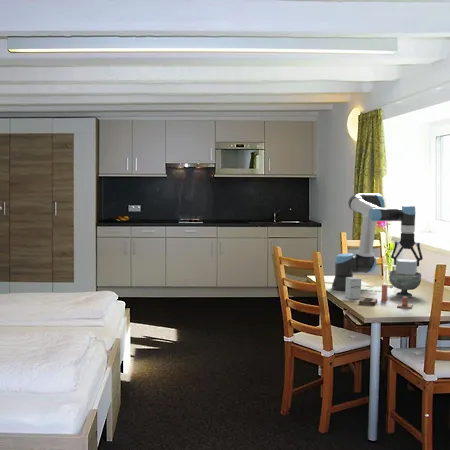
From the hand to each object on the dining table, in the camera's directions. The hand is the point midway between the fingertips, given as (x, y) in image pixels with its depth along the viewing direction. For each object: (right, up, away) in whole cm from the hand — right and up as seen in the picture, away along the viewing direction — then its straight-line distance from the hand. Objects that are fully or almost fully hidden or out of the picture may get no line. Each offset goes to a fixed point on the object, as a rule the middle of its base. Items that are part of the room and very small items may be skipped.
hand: (406, 271), depth 360 cm
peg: (-9, -19, +16) cm, 26 cm away
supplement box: (-25, -18, +25) cm, 40 cm away
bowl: (+9, -18, +34) cm, 39 cm away
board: (0, -20, +1) cm, 20 cm away
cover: (0, -1, 0) cm, 1 cm away
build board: (-20, -20, +10) cm, 29 cm away
